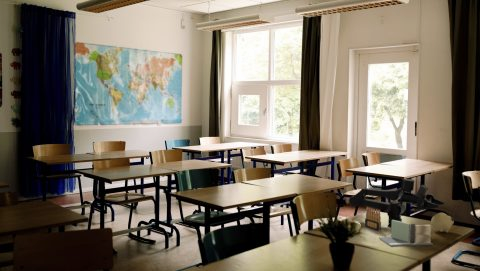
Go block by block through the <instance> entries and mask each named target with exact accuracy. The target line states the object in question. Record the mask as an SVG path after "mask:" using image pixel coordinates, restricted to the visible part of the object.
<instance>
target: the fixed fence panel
mask: <svg viewBox="0 0 480 271" xmlns="http://www.w3.org/2000/svg"><path fill="white" fill-rule="evenodd" d="M431 234H432V224H416V223H414V222H411V223H410V243H411V244H415V243H430V242H431V240H432V239H431V238H432V235H431Z"/></svg>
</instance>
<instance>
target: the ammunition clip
mask: <svg viewBox="0 0 480 271" xmlns="http://www.w3.org/2000/svg"><path fill="white" fill-rule="evenodd" d="M365 210H366V211H365V212H366V213H365V218H364V228H367V229H370V230H373V231H377V232H382V222H381V220H382V218H381V209H378V208H373V207H368V206H366V209H365Z"/></svg>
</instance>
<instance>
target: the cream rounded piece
mask: <svg viewBox="0 0 480 271" xmlns="http://www.w3.org/2000/svg"><path fill="white" fill-rule="evenodd" d="M430 220H431V221H430V222H431V223H430V225H431V230H435V231H438V232H445V233H449V230H450V229H451V228H452V225H454V222H455V218H454V217H451V216H450V215H448V214H446V213H444V212H438V213H436V214H434V215H433V216H432V218H431V219H430Z"/></svg>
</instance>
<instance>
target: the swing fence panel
mask: <svg viewBox="0 0 480 271" xmlns="http://www.w3.org/2000/svg"><path fill="white" fill-rule="evenodd" d="M410 225H411V223H408V222H403V221H402V222H400V221H396V220H392V227H390V228H391V232H390V233H391V234H390V235H391V236H390V237H392V238H396V239H400V240H404V241H407V242H409V241H410Z"/></svg>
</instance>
